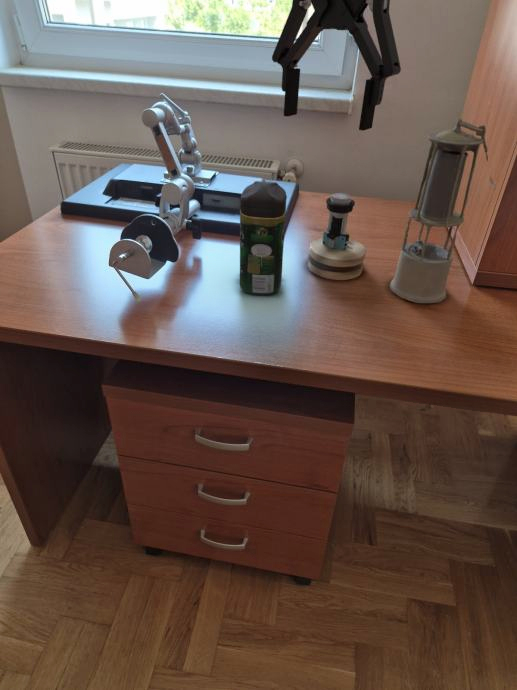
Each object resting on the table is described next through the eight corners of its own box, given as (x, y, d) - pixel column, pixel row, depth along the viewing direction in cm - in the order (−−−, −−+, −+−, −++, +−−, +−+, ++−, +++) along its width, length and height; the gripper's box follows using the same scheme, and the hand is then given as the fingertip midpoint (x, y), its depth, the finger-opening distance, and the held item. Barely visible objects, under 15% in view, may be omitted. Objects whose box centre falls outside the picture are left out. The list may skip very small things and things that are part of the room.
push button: (358, 247, 95) (367, 197, 89) (345, 255, 91) (353, 204, 85) (329, 238, 98) (335, 189, 92) (316, 246, 94) (321, 196, 89)
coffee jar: (242, 271, 94) (244, 176, 83) (282, 274, 94) (289, 179, 83) (235, 295, 86) (236, 194, 76) (279, 299, 86) (286, 197, 75)
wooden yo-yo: (372, 266, 98) (376, 246, 96) (345, 286, 91) (348, 265, 88) (325, 250, 104) (327, 230, 101) (295, 268, 96) (297, 247, 94)
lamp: (387, 275, 95) (423, 111, 78) (453, 281, 94) (505, 116, 77) (393, 301, 87) (434, 124, 69) (466, 307, 86) (527, 129, 68)
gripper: (450, -56, 58) (411, 131, 70) (284, -52, 70) (275, 107, 82) (426, -63, 53) (389, 139, 65) (252, -58, 65) (248, 112, 77)
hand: (326, 122), depth 74 cm, fingers open, 13 cm apart
